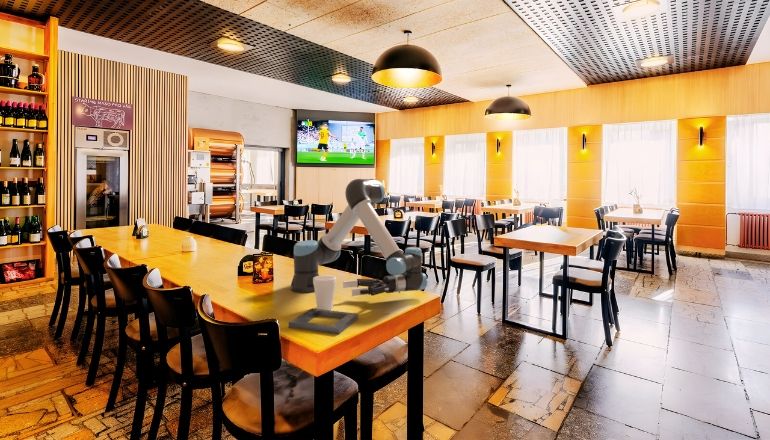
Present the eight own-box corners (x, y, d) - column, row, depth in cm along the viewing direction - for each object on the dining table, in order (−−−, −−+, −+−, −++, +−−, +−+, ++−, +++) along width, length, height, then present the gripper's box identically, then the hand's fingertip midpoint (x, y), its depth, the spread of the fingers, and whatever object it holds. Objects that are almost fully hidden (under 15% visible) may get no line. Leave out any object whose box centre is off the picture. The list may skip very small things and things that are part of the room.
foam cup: (314, 305, 170) (314, 275, 169) (336, 304, 171) (336, 274, 170) (312, 312, 161) (312, 280, 159) (335, 311, 161) (335, 280, 160)
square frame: (288, 327, 143) (288, 322, 143) (311, 313, 159) (311, 308, 159) (339, 334, 137) (339, 328, 137) (358, 318, 153) (358, 313, 153)
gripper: (405, 299, 165) (356, 305, 157) (383, 285, 188) (339, 289, 180) (405, 282, 164) (356, 286, 157) (383, 270, 188) (339, 273, 180)
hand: (347, 288), depth 169 cm, fingers open, 13 cm apart
